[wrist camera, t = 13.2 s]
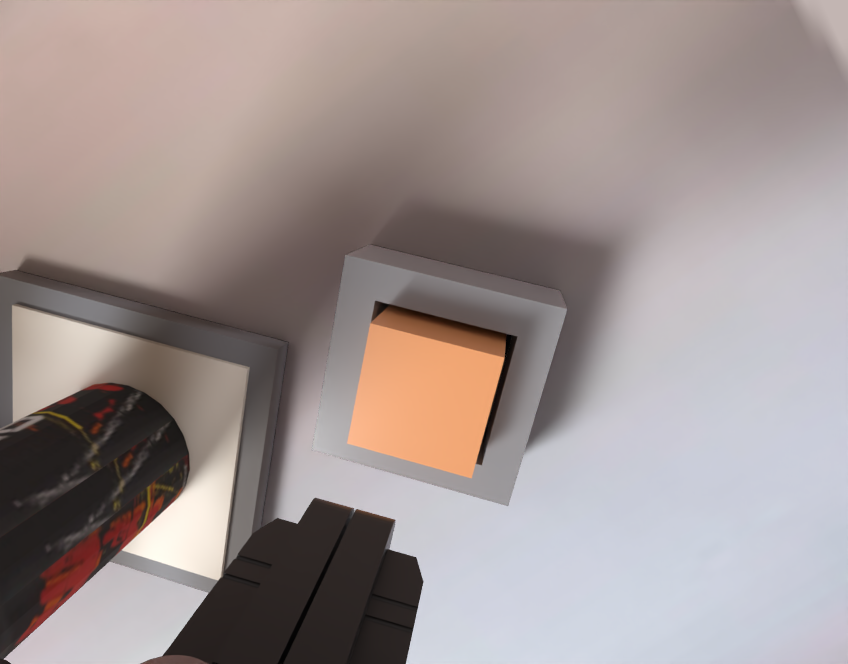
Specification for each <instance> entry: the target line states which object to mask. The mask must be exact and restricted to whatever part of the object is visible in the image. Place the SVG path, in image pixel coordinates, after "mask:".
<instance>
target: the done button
mask: <svg viewBox="0 0 848 664" xmlns="http://www.w3.org/2000/svg"><path fill="white" fill-rule="evenodd" d="M505 347H506V333H502V332H498V331H494V330H490V329H486V328H482V327H478V326H474V325H470V324H466V323H462V322H458V321H454V320H450V319H446V318H442V317H438V316H434V315H430V314H427V313H423V312H419V311H415V310H411V309H407V308H403V307H399V306H395V305H391V304H390V305H389V306H388V307H387V308H386V309H385V310H384V311H383V312H382V313H381V314H379V315H378V316H377V317H376V318H375V319H374V320H373V321H372V322H371V323H370V327H369V332H368V337H367V343H366V348H365V353H364V358H363V363H362V368H361V374H360V379H359V384H358V389H357V394H356V400H355V405H354V410H353V415H352V420H351V425H350V431H349V436H348V441H347V444H350V445H354V446H358V447H361V448H365V449H368V450H372V451H375V452H379V453H383V454H386V455H390V456H393V457H397V458H400V459H404V460H407V461H411V462H415V463H418V464H422V465H425V466H429V467H432V468H436V469H440V470H443V471H447V472H450V473H454V474H457V475H461V476H465V477H468V478H472V475H473V472H474V468H475V464H476V461H477V457H478V453H479V450H480V446H481V442H482V439H483V435H484V431H485V428H486V424H487V420H488V417H489V413H490V409H491V406H492V402H493V398H494V395H495V391H496V388H497V384H498V380H499V377H500V373H501V369H502V366H503V362H504V358H505Z"/></svg>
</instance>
